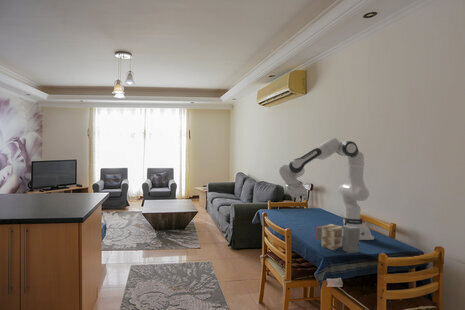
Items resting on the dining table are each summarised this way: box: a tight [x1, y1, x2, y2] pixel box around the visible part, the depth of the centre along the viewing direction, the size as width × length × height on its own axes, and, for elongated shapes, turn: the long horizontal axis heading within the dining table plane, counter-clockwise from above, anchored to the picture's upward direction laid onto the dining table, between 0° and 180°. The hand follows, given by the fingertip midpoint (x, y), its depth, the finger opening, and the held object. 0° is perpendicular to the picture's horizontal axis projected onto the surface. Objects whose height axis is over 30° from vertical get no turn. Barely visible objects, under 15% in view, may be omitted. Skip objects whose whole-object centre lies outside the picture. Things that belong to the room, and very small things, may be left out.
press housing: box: [320, 223, 343, 251], centre depth 203 cm, size 9×11×14 cm
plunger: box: [315, 225, 324, 241], centre depth 208 cm, size 6×8×8 cm
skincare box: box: [341, 225, 360, 254], centre depth 195 cm, size 8×7×16 cm
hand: (303, 200), depth 218 cm, fingers open, 8 cm apart
